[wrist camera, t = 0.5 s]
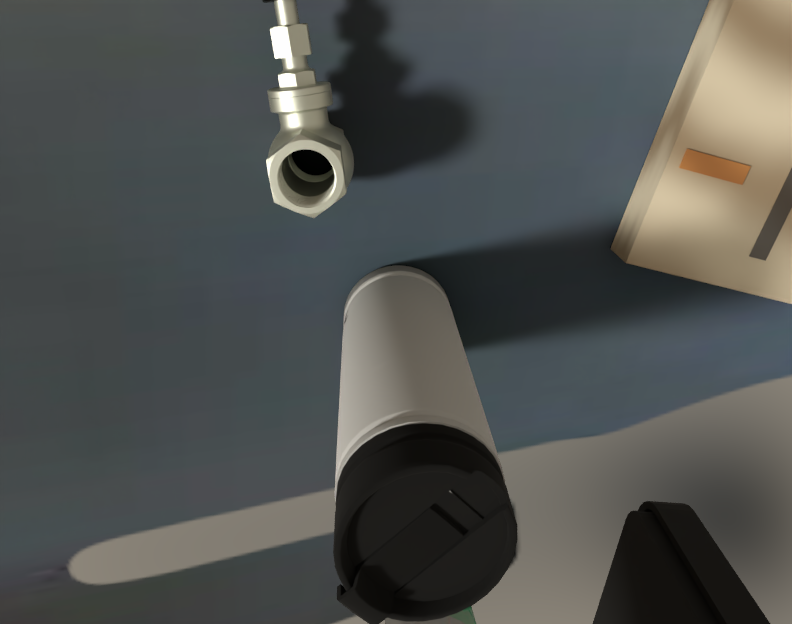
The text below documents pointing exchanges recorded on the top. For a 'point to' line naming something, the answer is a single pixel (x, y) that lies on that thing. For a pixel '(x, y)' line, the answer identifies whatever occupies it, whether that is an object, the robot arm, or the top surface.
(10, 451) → the top surface
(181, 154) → the top surface
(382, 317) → the travel mug
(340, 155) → the valve
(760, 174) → the fader panel
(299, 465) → the top surface
